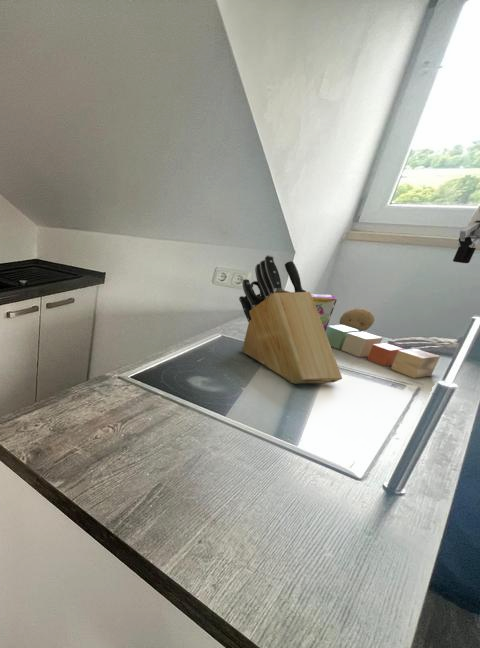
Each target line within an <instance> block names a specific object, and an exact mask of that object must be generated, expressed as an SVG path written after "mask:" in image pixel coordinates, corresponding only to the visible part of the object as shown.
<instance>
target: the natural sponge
mask: <svg viewBox="0 0 480 648" xmlns="http://www.w3.org/2000/svg"><path fill="white" fill-rule="evenodd" d="M374 322H375V316H374V314H373V313H372V312H371V311H370V310H368V309H366V308H363V307H356V308H352V309H349V310H347V311H345V312H344V313H343V314H342V315H341V316H340V317H339V325H345V326H348V327H351V328H354V329H357V330H360V331H359V332H362V331H363V332H367V330H368V329H370V328H371V327H372V326H373V325H374Z"/></svg>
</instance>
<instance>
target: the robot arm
mask: <svg viewBox="0 0 480 648" xmlns="http://www.w3.org/2000/svg"><path fill="white" fill-rule="evenodd" d="M479 243H480V203H479V204H478V206H477V207H476V208H475V210H474V212H473V214H472V216H471V218H470V220H469V221H468V224H467V226H466V227H464V228H462V229H461V230H460V231H459V238H458V243H457V250H456V253H455V255H454V257H453V259H452V261H453V263H454V262H455V263H460V264H461V263H462V264H469V263H470V262H471V260H472V257H473V255H474V254H475V251H476V249H477V247H475V246H477V245H478V244H479Z"/></svg>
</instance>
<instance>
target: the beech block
mask: <svg viewBox="0 0 480 648" xmlns="http://www.w3.org/2000/svg"><path fill="white" fill-rule="evenodd" d="M440 358H441V356H440V355H437V354H434V353H431V352H428V351H425V350H422V349H419V348H417V347H416V348H407V349H404V350H398V353H397V355H396V357H395V360H394V362H393V364H392V365H391V367H390V370H392V371H394V372H397V373H399V374H402V375H405V376H408V377H410V378H412V379H416V378H424V377H431V376H432V375H433V373H434V370H435V369H436V366H437V364H438V362H439V360H440Z"/></svg>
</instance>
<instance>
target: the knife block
mask: <svg viewBox="0 0 480 648" xmlns="http://www.w3.org/2000/svg"><path fill="white" fill-rule="evenodd" d="M277 267H278V266H277V265H276V263H275V260H274V256H273V255H269V254H268V255H267V254H266V256H264V259H262V260H261V261H260V262H259V263H257V264H256V265H255V268H254V271H255V277H256V280H254V281H252V282H251V283H250V279H249V278H244V279H243V280H242V288H243V289H242V290H243V293H244V295H245V296H243V295H240V296H239V298H238V300H239V302H240V304H241V307H242V310H243V313H244V316H245V317H246V320H247V322H248V324H247V328H246V332H245V337H244V340H243V346H242V348H241V352H242V353H244V354H245V355H247V356H249V357H250V358H252V359H254V360H256V361H257V362H259V363H260V364H263V365H265V367H267V368H268V369H270V370H271V371H273V372H275V373H276V374H278V375H280V376H281V377H282V378H285V379H286V380H287V381H289V382H290V383H292V384H296V385H297V384H331V383H336V382H338V381H340V380H342V379H343V376H342V373H341V371H340V368H339V365H338V362H337V360H336V357H335V354H334V352H333V349H332V346H330V343H329V341H328V338H327V335H326V332H325V330H324V327H323V324H322V322H321V319H320V317H319V314H318V311H317V309H316V306H315V303H314V301H313V298H312V296H311V294H312V293H311V292H310V291H307V290H304V289H303V288H302V281H301V277H300V274H299V271H298V268H297V266H296V264H295V262H294V261H293V260H292V261H291V260H290V261H287V262H285V264H284V269H285V271H286V272H287V274H288V277H289V280H290V282H291V284H292V286H293V288H294V291H288V290H285V289H284V288H283V287H282V280H281V275H280V272H279V270H278V268H277ZM254 285H255V286H257V288H258V290H259V293H258V294H256V293H255V290H254Z"/></svg>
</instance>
